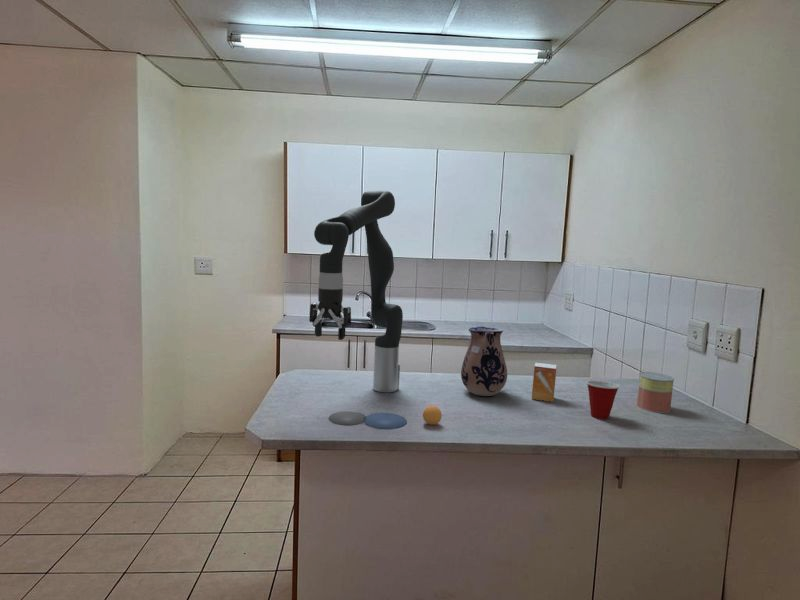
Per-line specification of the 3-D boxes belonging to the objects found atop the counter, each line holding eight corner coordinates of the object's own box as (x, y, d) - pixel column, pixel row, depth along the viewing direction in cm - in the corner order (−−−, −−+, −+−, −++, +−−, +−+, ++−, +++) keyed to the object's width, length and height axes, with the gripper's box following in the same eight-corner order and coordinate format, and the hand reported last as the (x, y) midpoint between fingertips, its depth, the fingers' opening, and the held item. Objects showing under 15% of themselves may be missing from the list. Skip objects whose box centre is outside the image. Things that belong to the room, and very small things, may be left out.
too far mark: (349, 409, 174) (350, 408, 174) (374, 419, 166) (374, 418, 166) (321, 417, 166) (321, 416, 166) (345, 428, 158) (345, 427, 158)
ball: (430, 419, 168) (431, 401, 168) (445, 424, 164) (446, 406, 163) (418, 423, 164) (419, 405, 163) (432, 429, 160) (433, 410, 159)
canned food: (674, 408, 192) (678, 377, 190) (665, 415, 183) (668, 382, 182) (642, 400, 199) (645, 370, 198) (632, 407, 191) (635, 375, 189)
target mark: (385, 410, 175) (385, 409, 175) (415, 422, 165) (415, 421, 165) (354, 419, 165) (354, 419, 165) (384, 432, 155) (384, 432, 155)
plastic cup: (615, 413, 182) (618, 380, 181) (617, 423, 172) (621, 389, 171) (583, 409, 186) (586, 376, 184) (583, 418, 176) (586, 384, 174)
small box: (531, 399, 194) (534, 365, 193) (532, 394, 200) (534, 362, 199) (553, 402, 192) (556, 368, 190) (554, 397, 198) (556, 364, 196)
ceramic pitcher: (469, 401, 189) (474, 334, 186) (450, 384, 210) (454, 323, 207) (513, 399, 193) (518, 333, 190) (491, 383, 214) (495, 323, 211)
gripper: (356, 287, 161) (355, 338, 163) (319, 284, 167) (318, 333, 170) (343, 289, 154) (342, 342, 157) (304, 285, 161) (304, 337, 163)
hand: (329, 337), depth 163 cm, fingers open, 8 cm apart
